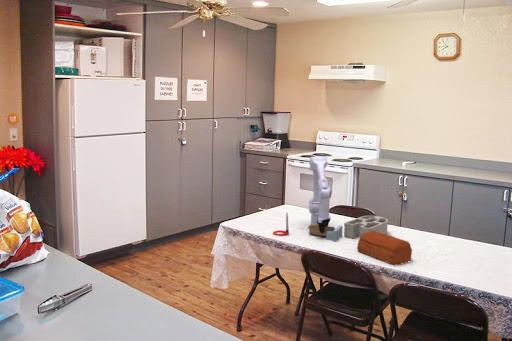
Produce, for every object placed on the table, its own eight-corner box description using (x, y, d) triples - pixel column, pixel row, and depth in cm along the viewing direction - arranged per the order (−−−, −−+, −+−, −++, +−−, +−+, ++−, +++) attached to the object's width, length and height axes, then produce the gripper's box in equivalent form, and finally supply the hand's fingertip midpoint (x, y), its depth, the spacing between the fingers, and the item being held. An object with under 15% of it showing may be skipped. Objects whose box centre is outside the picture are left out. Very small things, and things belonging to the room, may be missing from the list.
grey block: (332, 234, 286) (332, 224, 285) (342, 235, 283) (342, 226, 282) (325, 239, 275) (326, 229, 274) (335, 241, 272) (336, 231, 271)
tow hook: (272, 236, 281) (288, 236, 281) (272, 214, 279) (288, 214, 279) (273, 232, 290) (288, 232, 289) (272, 211, 287) (288, 211, 287)
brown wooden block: (311, 232, 287) (311, 223, 286) (334, 235, 281) (334, 227, 280) (309, 233, 283) (309, 225, 283) (331, 237, 277) (332, 228, 276)
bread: (394, 266, 236) (396, 245, 234) (354, 251, 257) (355, 232, 255) (414, 260, 244) (416, 240, 243) (373, 246, 266) (375, 227, 264)
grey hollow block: (343, 237, 281) (344, 222, 280) (367, 227, 302) (368, 214, 300) (368, 243, 270) (369, 228, 269) (392, 233, 291) (393, 219, 289)
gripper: (326, 212, 271) (325, 236, 273) (334, 207, 284) (333, 229, 286) (314, 211, 274) (314, 234, 276) (323, 205, 287) (322, 228, 289)
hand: (323, 231), depth 281 cm, fingers closed on brown wooden block, 4 cm apart
